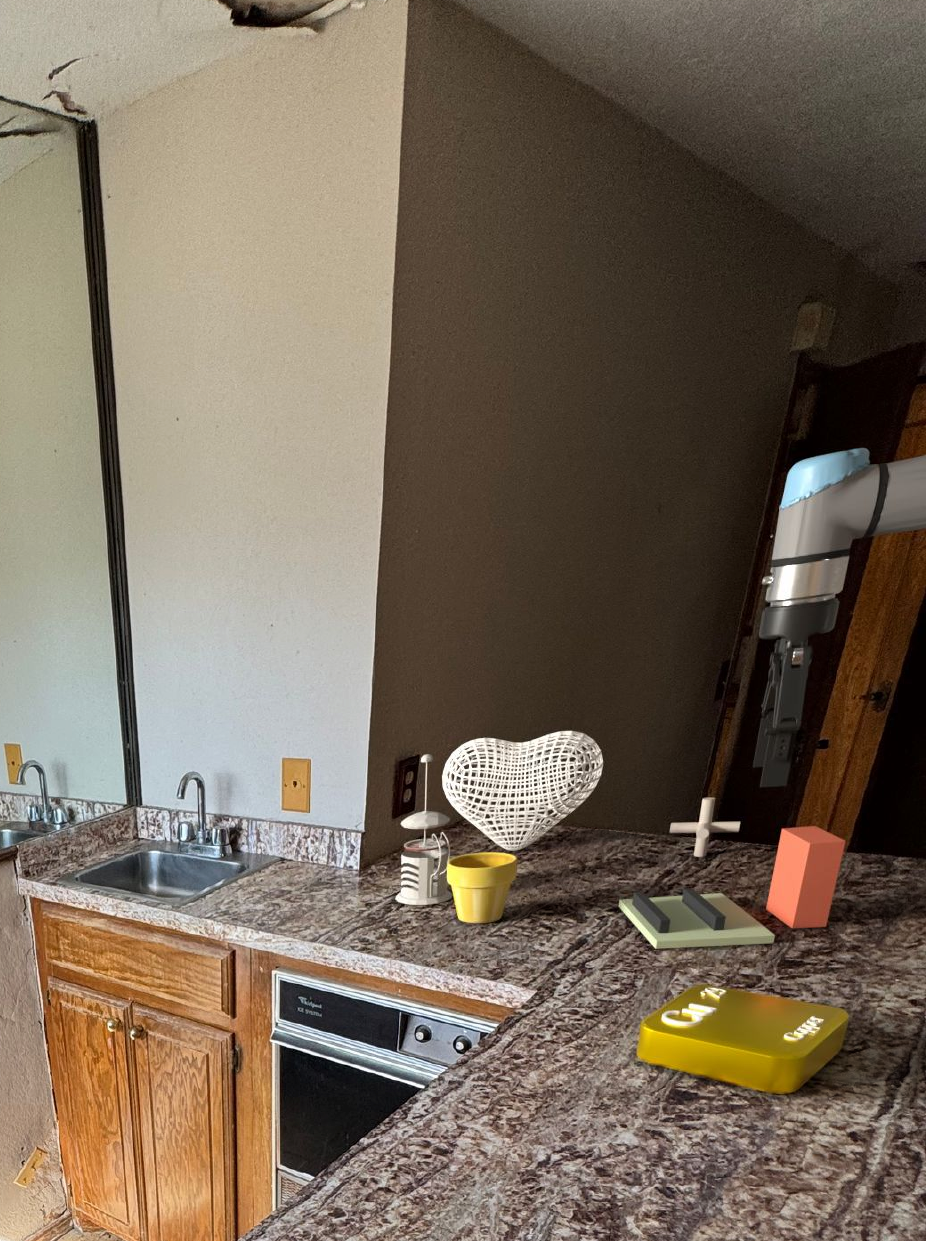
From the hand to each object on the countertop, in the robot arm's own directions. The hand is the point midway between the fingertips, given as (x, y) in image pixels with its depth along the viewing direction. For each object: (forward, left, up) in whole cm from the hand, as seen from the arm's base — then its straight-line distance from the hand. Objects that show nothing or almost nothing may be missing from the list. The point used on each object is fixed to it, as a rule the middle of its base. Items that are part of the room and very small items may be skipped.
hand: (768, 776), depth 119 cm
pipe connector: (+30, -23, -21) cm, 43 cm away
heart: (+56, -5, -21) cm, 60 cm away
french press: (+40, +25, -21) cm, 51 cm away
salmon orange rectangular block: (-3, -6, -21) cm, 22 cm away
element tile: (-30, +33, -21) cm, 50 cm away
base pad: (+4, +5, -21) cm, 22 cm away
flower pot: (+25, +25, -21) cm, 41 cm away
